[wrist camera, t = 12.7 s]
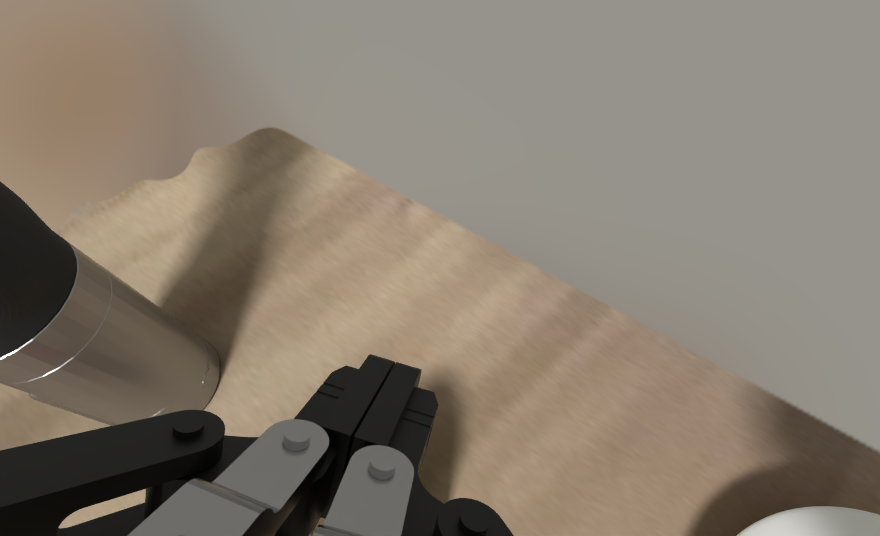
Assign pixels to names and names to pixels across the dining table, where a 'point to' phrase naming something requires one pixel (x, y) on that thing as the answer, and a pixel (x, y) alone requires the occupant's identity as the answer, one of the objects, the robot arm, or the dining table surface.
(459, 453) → the dining table surface
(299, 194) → the dining table surface
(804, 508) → the candlestick
